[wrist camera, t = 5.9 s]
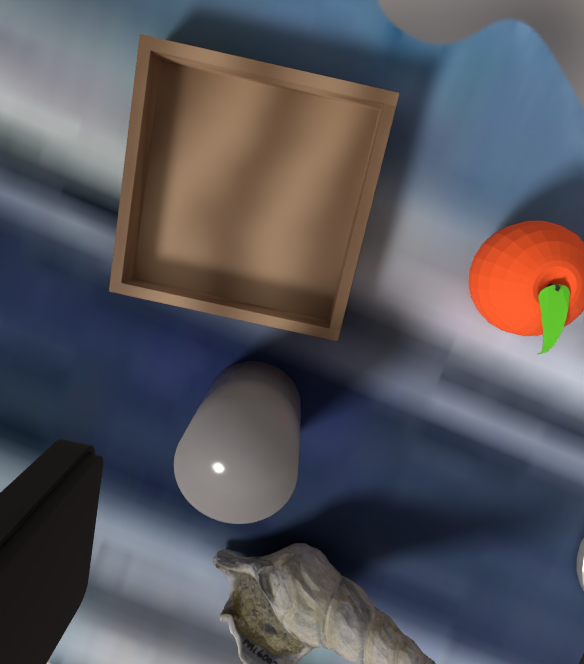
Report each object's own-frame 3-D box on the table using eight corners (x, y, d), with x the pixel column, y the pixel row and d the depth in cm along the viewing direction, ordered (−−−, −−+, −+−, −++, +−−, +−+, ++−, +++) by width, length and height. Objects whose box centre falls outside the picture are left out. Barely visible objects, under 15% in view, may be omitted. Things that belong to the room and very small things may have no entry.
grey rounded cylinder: (310, 372, 36) (309, 427, 27) (290, 457, 37) (283, 534, 29) (215, 351, 35) (184, 399, 27) (200, 438, 37) (165, 509, 29)
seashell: (239, 494, 38) (214, 592, 29) (436, 569, 39) (477, 688, 30) (197, 592, 41) (161, 713, 31) (384, 660, 42) (405, 798, 32)
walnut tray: (391, 103, 31) (399, 92, 28) (335, 329, 35) (337, 341, 32) (156, 50, 31) (140, 34, 28) (126, 283, 34) (109, 291, 32)
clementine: (561, 328, 34) (624, 360, 27) (459, 342, 35) (496, 376, 28) (559, 211, 32) (627, 213, 25) (451, 226, 33) (488, 233, 26)
